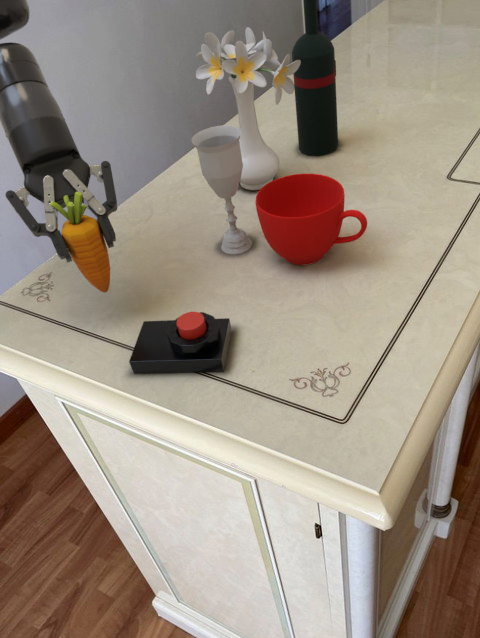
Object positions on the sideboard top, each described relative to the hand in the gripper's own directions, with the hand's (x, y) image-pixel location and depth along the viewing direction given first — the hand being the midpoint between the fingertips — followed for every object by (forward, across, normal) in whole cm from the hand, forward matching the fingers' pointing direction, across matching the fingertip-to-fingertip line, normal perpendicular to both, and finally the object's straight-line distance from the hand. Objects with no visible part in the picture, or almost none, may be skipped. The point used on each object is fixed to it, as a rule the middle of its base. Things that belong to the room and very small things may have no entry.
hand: (90, 252), depth 76 cm
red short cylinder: (+15, +8, -3) cm, 17 cm away
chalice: (+3, +22, +14) cm, 27 cm away
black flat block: (+16, +6, 0) cm, 17 cm away
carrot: (+4, 0, +7) cm, 8 cm away
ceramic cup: (+10, +31, +7) cm, 34 cm away
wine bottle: (-13, +51, +31) cm, 62 cm away
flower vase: (-9, +35, +26) cm, 45 cm away
